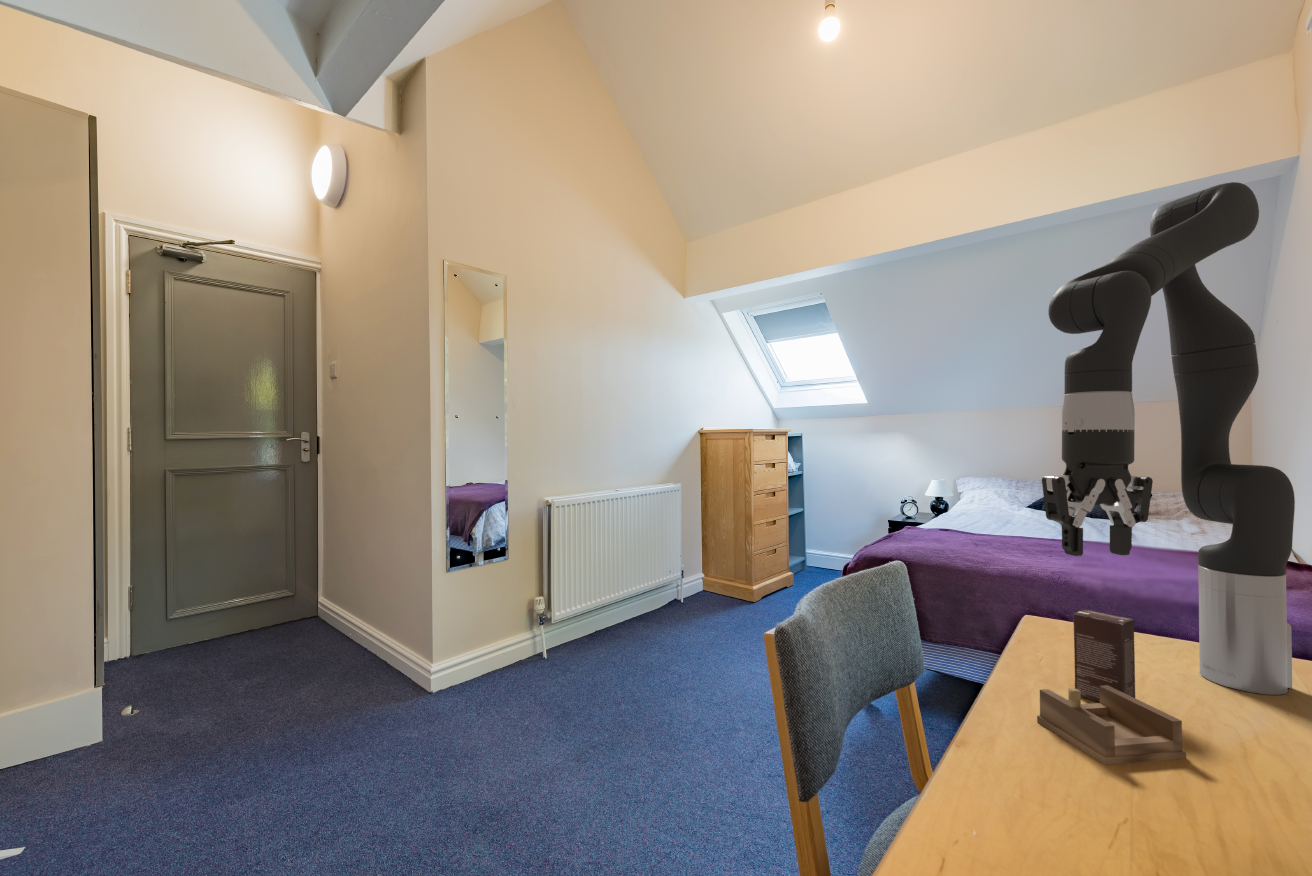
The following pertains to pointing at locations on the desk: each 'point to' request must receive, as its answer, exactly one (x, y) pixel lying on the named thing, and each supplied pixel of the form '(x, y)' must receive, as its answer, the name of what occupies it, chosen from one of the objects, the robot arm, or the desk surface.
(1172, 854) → the desk surface
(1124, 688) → the box
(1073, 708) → the drawer
